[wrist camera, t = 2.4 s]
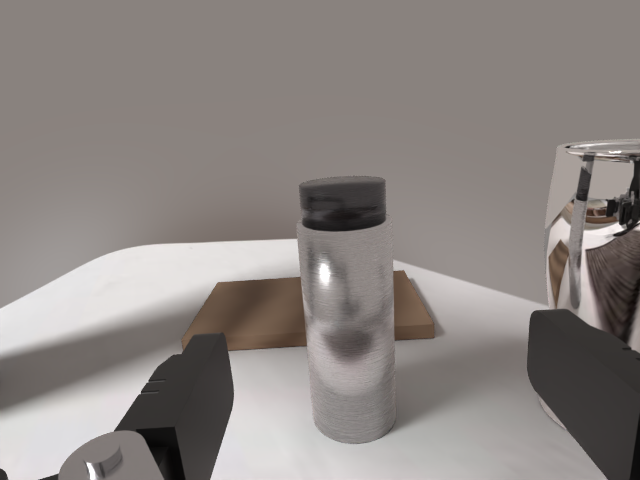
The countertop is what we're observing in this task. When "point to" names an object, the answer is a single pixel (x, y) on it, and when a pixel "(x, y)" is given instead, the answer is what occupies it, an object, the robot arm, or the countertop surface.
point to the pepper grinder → (348, 305)
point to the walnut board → (289, 313)
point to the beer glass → (595, 237)
